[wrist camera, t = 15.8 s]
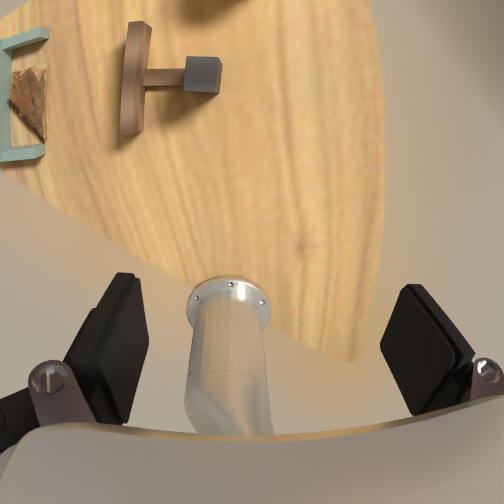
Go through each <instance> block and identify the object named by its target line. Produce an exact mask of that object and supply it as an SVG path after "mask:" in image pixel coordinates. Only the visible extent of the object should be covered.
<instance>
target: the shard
mask: <svg viewBox="0 0 504 504" xmlns="http://www.w3.org/2000/svg"><path fill="white" fill-rule="evenodd" d="M47 76H48V65H47V64H46V65H41V66H34V67H31V68H28V69H24V70H20V71H14V72H13V73H12V74H11V83H10V91H9V98H8V100H7V102H8V103H9V105H11V107H12V108H13V109H14V110H15V111H16V113H17V114H18V115H19V116H20V118H21V119H22V120H23V121H24V122H25V123H26V124H27V125H28V126H29V127H30V128H31V129H32V130H33V131H34V132H35V133H36V134H37V135H38V137H39V138H40V139H41V140H42V141H43V142H45V139H46V138H47V124H46V109H45V107H46V104H45V98H46V85H47Z"/></svg>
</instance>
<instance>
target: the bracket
mask: <svg viewBox="0 0 504 504" xmlns="http://www.w3.org/2000/svg"><path fill="white" fill-rule="evenodd" d="M49 35H50V29H49V28H45V27H38V28H34V29H31V30H29V31H26V32H23V33H20V34H17V35H15V36H12V37H10V38H7V39H5V40H0V162H5V161H14V160H24V159H35V158H37V157H40V156H42V155H44V154H45V144H36V145H27V146H19V147H12V148H11V146H10V121H9V103H8V102H7V100H8V98H9V91H10V78H11V65H12V55H13V50H14V49H17V48H20V47H23V46H26V45H29V44H32V43H35V42H39V41H42V40H46V39H49Z"/></svg>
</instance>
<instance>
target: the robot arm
mask: <svg viewBox="0 0 504 504" xmlns="http://www.w3.org/2000/svg"><path fill="white" fill-rule="evenodd" d="M270 317H271V307H270V302H269V299H268V297H267V296H266V294H265V292H264V291H263V290H262V289H261V288H260V287H259V286H257V285H256V284H254V283H253V282H250V281H248V280H246V279H242V278H239V277H231V276H226V277H217V278H213V279H210V280H207V281H205V282H203V283H202V284H200V285H199V286H198V287H197V288H196V289H194V290H193V292H192V294H191V295H190V297H189V300H188V303H187V318H188V321H189V323H190V324H191V326H192V327H193V329H194V332H193V339H192V346H191V352H190V359H189V367H188V374H187V382H186V389H185V397H184V404H185V410H186V413H187V416H188V418H189V420H190V422H191V424H192V425H193V427H194V428H195V430H196V431H197V432H198V433H184V432H171V431H161V430H153V429H145V428H137V427H128V426H122V424H123V423H127V422H128V420H129V416H130V412H131V408H132V404H133V400H134V396H135V393H136V389H137V385H138V382H139V378H140V374H141V371H142V367H143V364H144V360H145V357H146V353H147V350H148V346H149V336H148V331H147V325H146V319H145V312H144V306H143V299H142V291H141V283H140V279H139V278H135V275H134V274H133V273H120V272H118V273H117V274H116V275H115V277H114V278H113V280H112V281H111V283H110V285H109V286H108V288H107V290H106V291H105V293H104V295H103V296H102V298H101V300H100V302H99V303H98V305H97V307H96V308H93V309H92V310H91V311H90V312H89V314H88V316H87V318H86V319H85V321H84V323H83V325H82V327H81V328H80V330H79V332H78V334H77V335H76V337H75V339H74V341H73V343H72V345H71V347H70V348H69V350H68V352H67V354H66V356H65V358H64V360H63V362H62V361H59V360H48V361H44V362H42V363H40V364H38V365H37V366H36V367H35V368H34V369H33V370H32V371H31V373H30V374H29V378H28V387H27V388H25V389H23V390H20V391H18V392H16V393H13V394H11V395H9V396H7V397H4V398H2V399H0V504H504V373H503V371H502V369H501V368H500V366H499V365H498V364H497V363H495V362H494V361H493V360H491V359H488V358H478V359H477V360H476V361H475V362H474V363H473V362H472V361H471V360H472V358H473V357H474V355H475V352H474V350H473V349H472V348H471V346H470V345H469V344H468V342H467V341H466V340H465V338H464V337H463V336H462V334H461V333H460V332H459V330H458V329H457V328H456V327H455V325H454V324H453V323H452V321H451V320H450V319H449V318H448V316H447V315H446V314H445V312H444V311H443V310H442V309H441V307H440V306H439V305H438V304H437V303H436V301H435V300H434V299H433V298H432V297H431V295H430V294H429V293H428V292H427V291H426V290H425V288H424V287H423V286H422V285H421V284H407V285H406V286H405V287H404V288H402V290H401V291H400V294H399V297H398V299H397V302H396V305H395V307H394V310H393V312H392V315H391V318H390V320H389V322H388V325H387V327H386V330H385V332H384V335H383V337H382V339H381V342H380V349H381V352H382V354H383V356H384V358H385V360H386V362H387V364H388V366H389V368H390V370H391V372H392V374H393V377H394V379H395V380H396V383H397V385H398V387H399V389H400V391H401V394H402V396H403V398H404V400H405V402H406V405H407V407H408V409H409V411H410V413H411V415H413V417H409V418H404V419H400V420H395V421H390V422H384V423H379V424H373V425H367V426H361V427H354V428H347V429H340V430H331V431H322V432H311V433H298V434H280V435H279V434H278V435H274V431H273V426H272V420H271V412H270V404H269V394H268V383H267V372H266V362H265V352H264V343H263V332H262V331H263V330H264V329H265V328H266V327H267V325H268V323H269V320H270Z"/></svg>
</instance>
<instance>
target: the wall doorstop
mask: <svg viewBox="0 0 504 504" xmlns="http://www.w3.org/2000/svg"><path fill="white" fill-rule="evenodd" d="M151 31H152V28H151V27H150V26H148V25H147V24H146V23H144V22H143V21H135V22H129V24H128V31H127V39H126V47H125V56H124V66H123V77H122V91H121V110H120V135H133V134H135V133H138V132H140V131H143V122H144V103H145V88H146V86H183V91H189V92H205V93H219V90H220V81H221V72H222V63H221V61H220V59H219V57H195V56H187V57H186V66H185V69H147V65H148V56H149V47H150V39H151Z"/></svg>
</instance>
